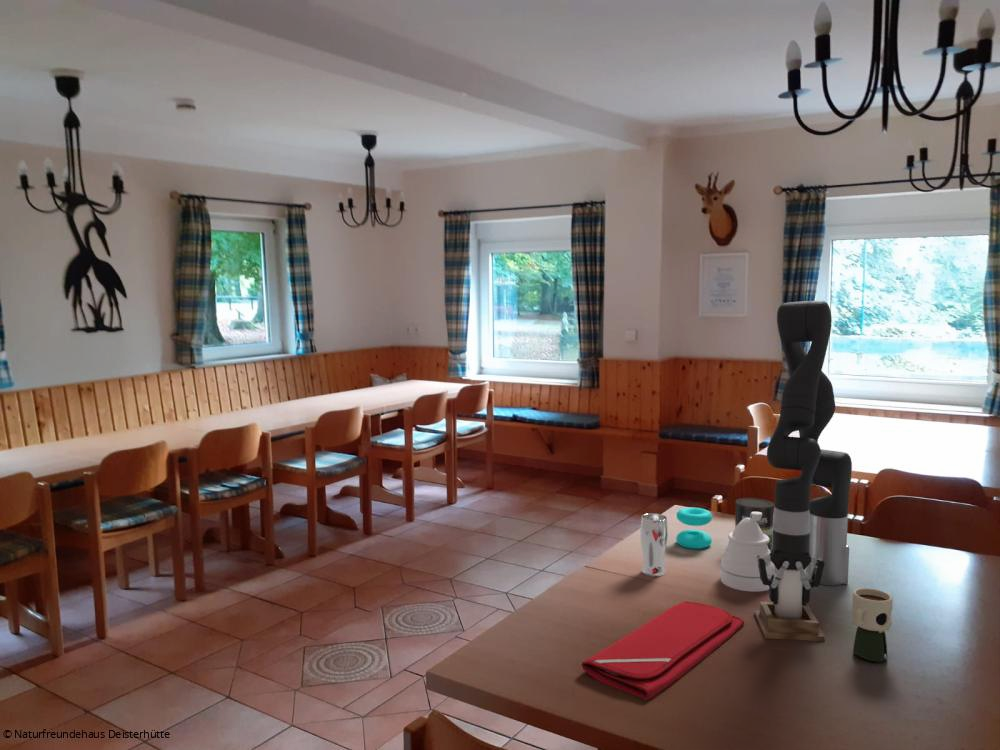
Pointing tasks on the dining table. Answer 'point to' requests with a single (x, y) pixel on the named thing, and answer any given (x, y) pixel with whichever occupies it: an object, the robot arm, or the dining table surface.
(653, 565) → the beer glass
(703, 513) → the donuts
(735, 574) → the honey pot
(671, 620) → the red folded cloth
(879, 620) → the character mug
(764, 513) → the coffee can
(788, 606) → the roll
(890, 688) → the dining table surface
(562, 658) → the dining table surface
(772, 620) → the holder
